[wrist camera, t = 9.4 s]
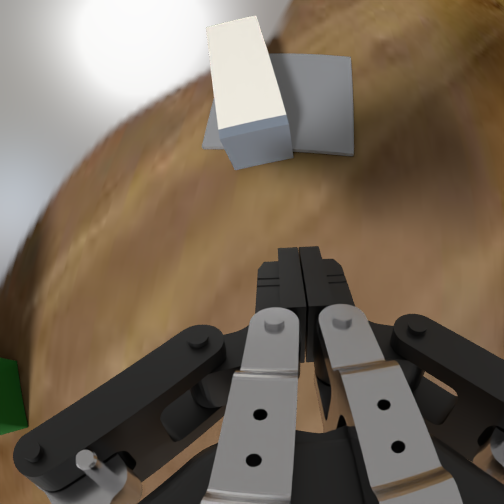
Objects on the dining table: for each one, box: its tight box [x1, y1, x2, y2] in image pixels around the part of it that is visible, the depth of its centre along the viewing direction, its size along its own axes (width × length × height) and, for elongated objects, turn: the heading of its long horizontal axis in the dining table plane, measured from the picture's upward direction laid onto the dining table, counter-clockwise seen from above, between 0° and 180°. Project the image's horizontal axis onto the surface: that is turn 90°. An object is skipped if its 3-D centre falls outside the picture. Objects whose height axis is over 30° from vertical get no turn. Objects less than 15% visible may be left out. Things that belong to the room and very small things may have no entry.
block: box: [206, 16, 293, 170], centre depth 23 cm, size 4×4×13 cm
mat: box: [202, 54, 354, 156], centre depth 25 cm, size 11×12×1 cm
